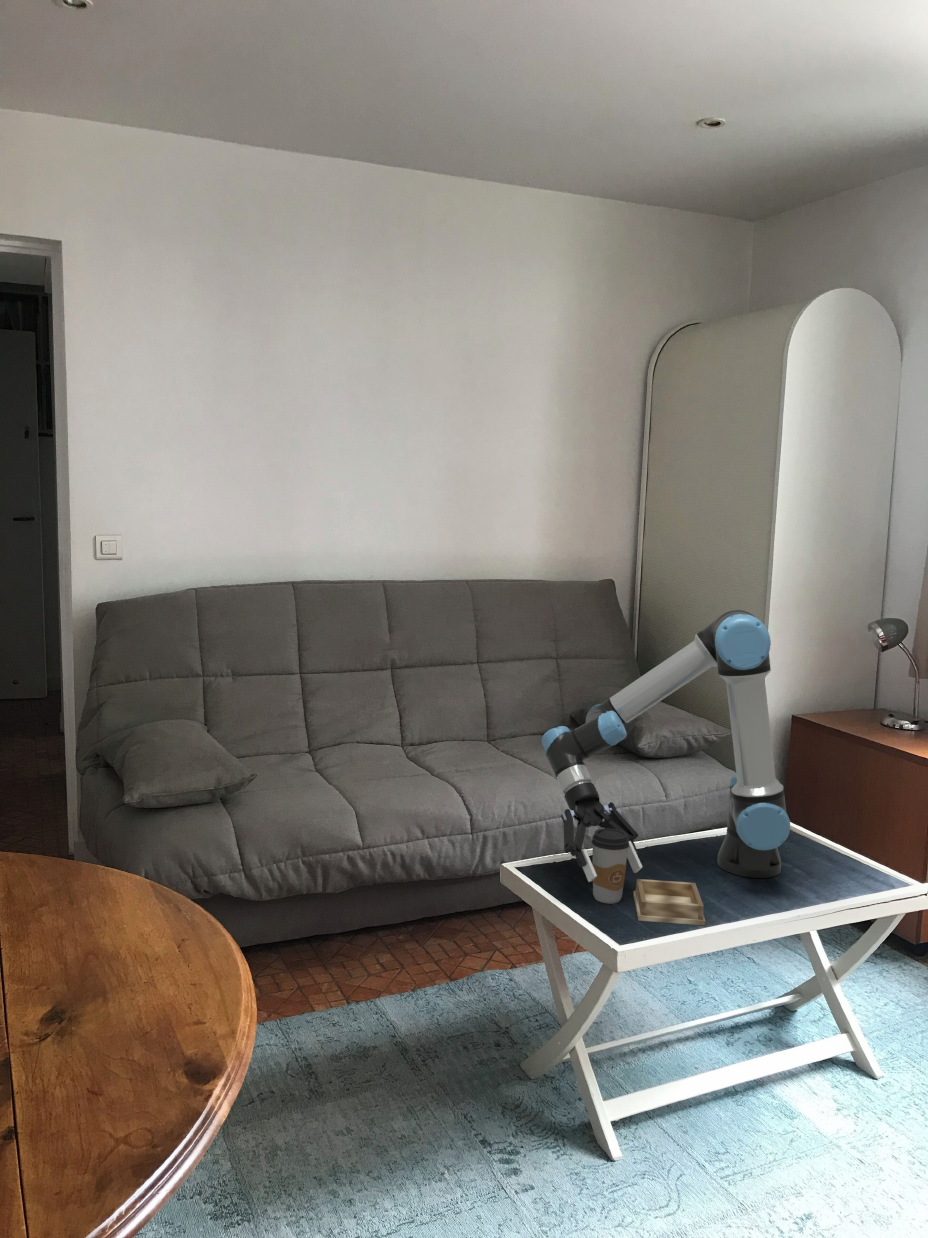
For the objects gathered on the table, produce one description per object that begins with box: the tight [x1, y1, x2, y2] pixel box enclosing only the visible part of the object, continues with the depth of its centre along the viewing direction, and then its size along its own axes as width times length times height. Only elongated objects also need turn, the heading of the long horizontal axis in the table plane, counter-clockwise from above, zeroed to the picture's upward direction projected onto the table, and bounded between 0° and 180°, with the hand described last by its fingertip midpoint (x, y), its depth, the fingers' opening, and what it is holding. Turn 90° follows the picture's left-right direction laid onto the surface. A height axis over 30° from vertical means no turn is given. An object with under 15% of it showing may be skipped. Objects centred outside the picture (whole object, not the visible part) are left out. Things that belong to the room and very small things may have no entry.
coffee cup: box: [591, 828, 629, 905], centre depth 222 cm, size 8×8×15 cm
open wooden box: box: [632, 878, 706, 926], centre depth 218 cm, size 14×14×4 cm
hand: (616, 874), depth 220 cm, fingers open, 12 cm apart
